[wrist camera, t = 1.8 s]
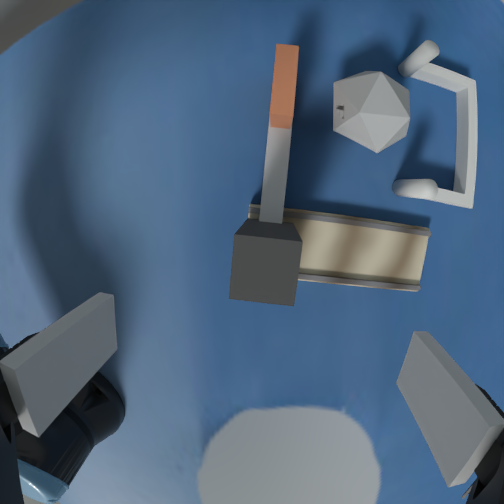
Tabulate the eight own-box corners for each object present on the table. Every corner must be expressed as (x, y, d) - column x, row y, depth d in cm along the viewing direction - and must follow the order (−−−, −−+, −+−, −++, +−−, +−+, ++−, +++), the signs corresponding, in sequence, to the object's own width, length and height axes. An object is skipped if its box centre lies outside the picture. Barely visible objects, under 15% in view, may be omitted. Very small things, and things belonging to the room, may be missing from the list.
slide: (243, 271, 37) (242, 275, 36) (250, 203, 36) (249, 204, 34) (414, 289, 36) (419, 293, 35) (426, 227, 35) (431, 229, 33)
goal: (391, 194, 34) (420, 197, 26) (397, 61, 31) (422, 37, 23) (459, 208, 34) (495, 215, 26) (464, 84, 30) (496, 69, 22)
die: (347, 69, 32) (314, 65, 25) (419, 78, 28) (408, 74, 21) (346, 134, 37) (314, 148, 30) (414, 147, 32) (401, 165, 25)
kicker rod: (244, 260, 37) (229, 298, 24) (263, 74, 32) (257, 22, 19) (287, 264, 36) (293, 306, 24) (306, 79, 32) (321, 28, 19)
